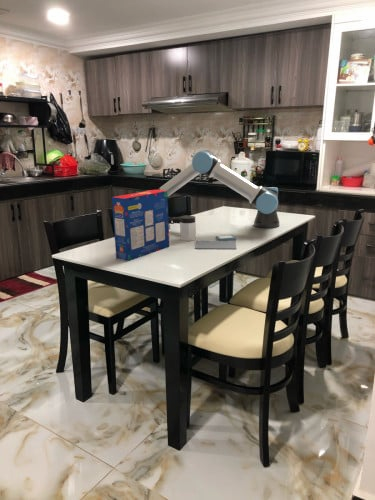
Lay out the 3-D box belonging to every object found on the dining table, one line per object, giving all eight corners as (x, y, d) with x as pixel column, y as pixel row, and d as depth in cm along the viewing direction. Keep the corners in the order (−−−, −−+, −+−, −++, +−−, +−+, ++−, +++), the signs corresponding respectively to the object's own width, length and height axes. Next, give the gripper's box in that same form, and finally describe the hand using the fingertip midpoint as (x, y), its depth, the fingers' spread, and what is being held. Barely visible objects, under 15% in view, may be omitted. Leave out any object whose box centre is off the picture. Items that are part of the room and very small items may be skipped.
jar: (198, 237, 209) (198, 216, 205) (192, 241, 201) (192, 219, 198) (183, 236, 212) (183, 215, 209) (177, 240, 205) (176, 217, 202)
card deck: (232, 238, 209) (232, 234, 208) (235, 241, 203) (235, 237, 202) (215, 239, 207) (215, 235, 207) (218, 242, 201) (219, 238, 201)
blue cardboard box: (157, 244, 197) (155, 189, 190) (169, 246, 193) (167, 190, 185) (116, 258, 176) (111, 197, 168) (128, 261, 172) (124, 198, 164)
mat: (235, 241, 200) (235, 240, 200) (236, 249, 186) (236, 248, 186) (196, 241, 201) (196, 240, 201) (195, 248, 188) (195, 248, 188)
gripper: (177, 222, 235) (198, 228, 218) (141, 228, 221) (160, 235, 204) (177, 210, 233) (198, 215, 216) (140, 215, 219) (160, 221, 202)
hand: (180, 225), depth 210 cm, fingers open, 13 cm apart
